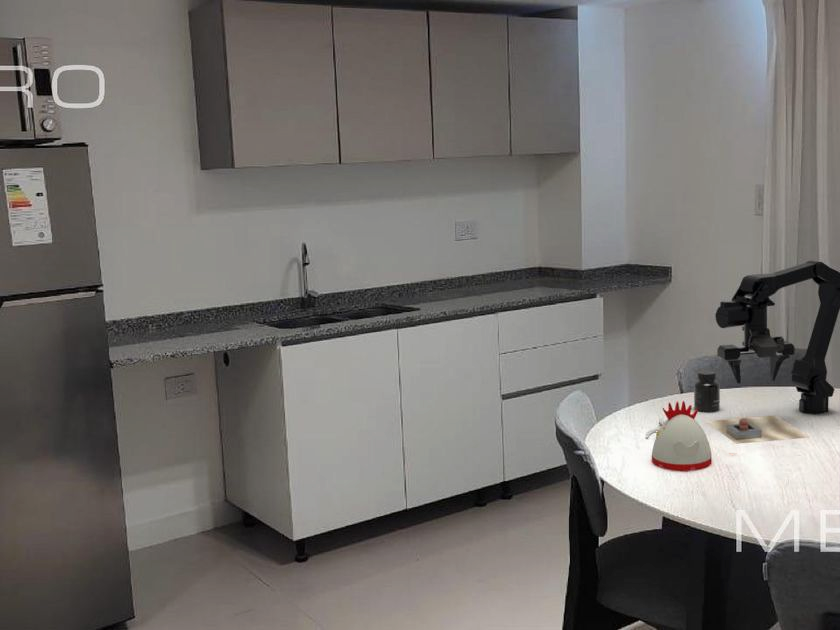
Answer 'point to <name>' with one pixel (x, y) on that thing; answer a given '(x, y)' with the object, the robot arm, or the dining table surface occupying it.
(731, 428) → the grey square frame
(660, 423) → the pliers
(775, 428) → the keeper board
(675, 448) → the kitchen timer
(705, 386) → the supplement bottle
